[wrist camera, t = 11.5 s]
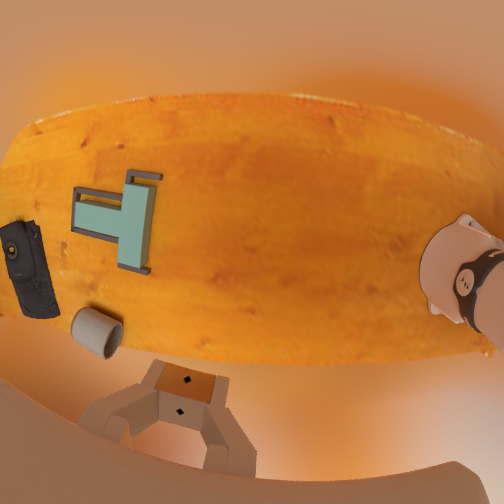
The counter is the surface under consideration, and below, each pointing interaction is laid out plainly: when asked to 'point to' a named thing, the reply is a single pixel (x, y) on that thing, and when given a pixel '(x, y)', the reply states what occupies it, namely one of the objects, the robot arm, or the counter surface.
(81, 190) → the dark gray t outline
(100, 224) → the teal T block
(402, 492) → the robot arm
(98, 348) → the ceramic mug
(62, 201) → the counter surface
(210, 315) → the counter surface
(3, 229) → the dark slate chunk
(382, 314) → the counter surface
